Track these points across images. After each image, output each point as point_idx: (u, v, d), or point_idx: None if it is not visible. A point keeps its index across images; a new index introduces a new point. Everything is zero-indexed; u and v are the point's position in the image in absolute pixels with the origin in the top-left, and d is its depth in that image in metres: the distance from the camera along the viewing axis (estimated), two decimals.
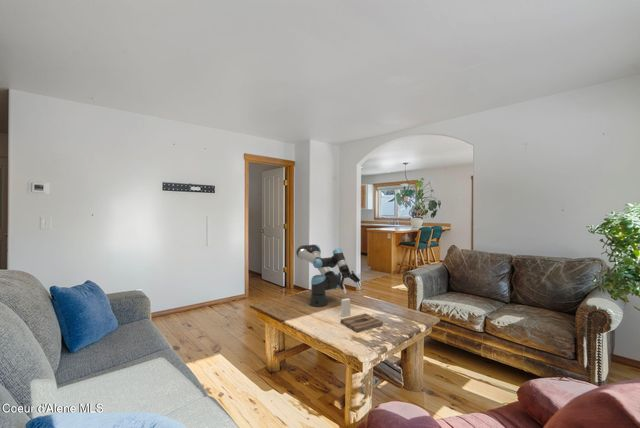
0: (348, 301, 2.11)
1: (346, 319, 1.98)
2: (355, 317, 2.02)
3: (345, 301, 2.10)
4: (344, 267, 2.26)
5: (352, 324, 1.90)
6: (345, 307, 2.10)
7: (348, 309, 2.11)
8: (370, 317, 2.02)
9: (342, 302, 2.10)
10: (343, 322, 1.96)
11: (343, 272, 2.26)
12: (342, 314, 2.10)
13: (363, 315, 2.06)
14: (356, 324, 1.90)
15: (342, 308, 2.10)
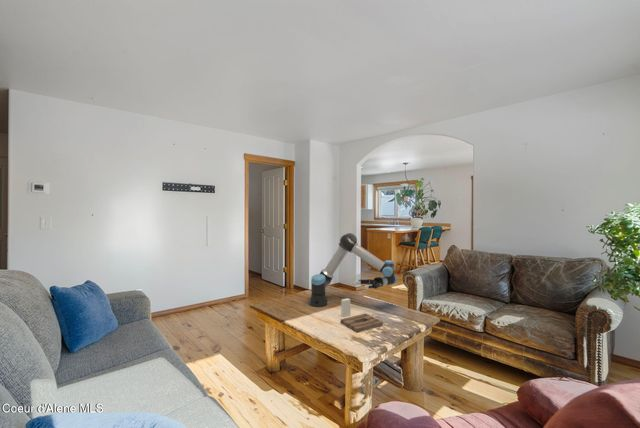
0: (348, 301, 2.11)
1: (346, 319, 1.98)
2: (355, 317, 2.02)
3: (345, 301, 2.10)
4: (379, 286, 2.26)
5: (352, 324, 1.90)
6: (345, 307, 2.10)
7: (348, 309, 2.11)
8: (370, 317, 2.02)
9: (342, 302, 2.10)
10: (343, 322, 1.96)
11: None
12: (342, 314, 2.10)
13: (363, 315, 2.06)
14: (356, 324, 1.90)
15: (342, 308, 2.10)
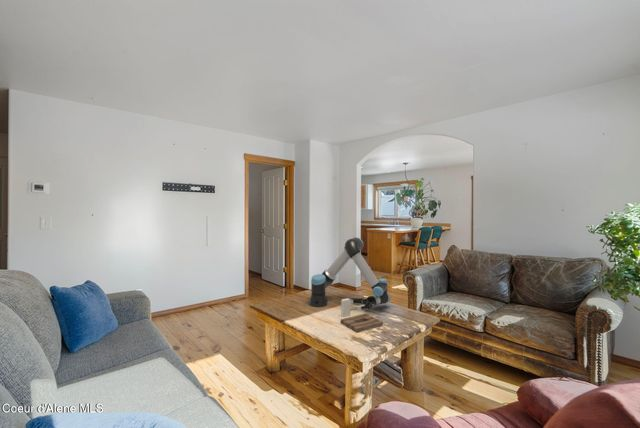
0: (348, 301, 2.11)
1: (346, 319, 1.98)
2: (355, 317, 2.02)
3: (345, 301, 2.10)
4: None
5: (352, 324, 1.90)
6: (345, 307, 2.10)
7: (348, 309, 2.11)
8: (370, 317, 2.02)
9: (342, 302, 2.10)
10: (343, 322, 1.96)
11: None
12: (342, 314, 2.10)
13: (363, 315, 2.06)
14: (356, 324, 1.90)
15: (342, 308, 2.10)
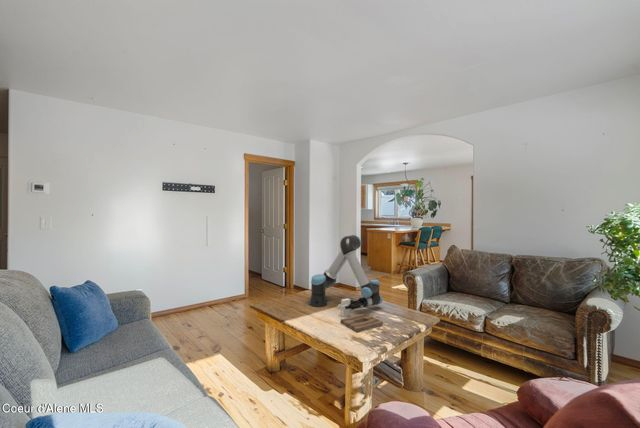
0: (348, 301, 2.11)
1: (346, 319, 1.98)
2: (355, 317, 2.02)
3: (345, 301, 2.10)
4: (363, 307, 2.19)
5: (352, 324, 1.90)
6: None
7: (348, 309, 2.11)
8: (370, 317, 2.02)
9: (342, 302, 2.10)
10: (343, 322, 1.96)
11: None
12: (342, 314, 2.10)
13: (363, 315, 2.06)
14: (356, 324, 1.90)
15: None
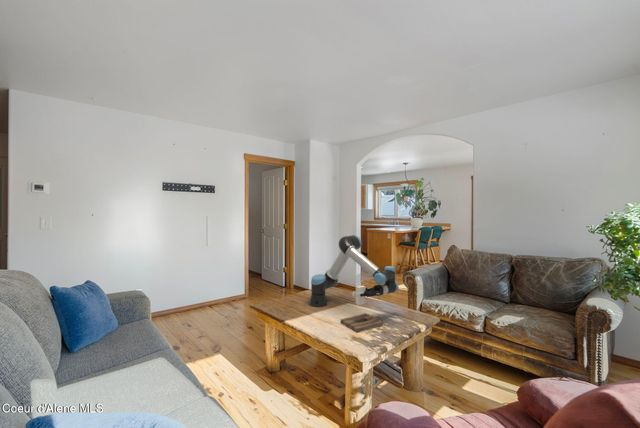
0: (363, 288, 1.97)
1: (346, 319, 1.98)
2: (355, 317, 2.02)
3: (360, 288, 1.95)
4: (379, 295, 2.04)
5: (352, 324, 1.90)
6: None
7: (363, 297, 1.97)
8: (370, 317, 2.02)
9: (357, 289, 1.96)
10: (343, 322, 1.96)
11: None
12: (357, 302, 1.96)
13: (363, 315, 2.06)
14: (356, 324, 1.90)
15: None
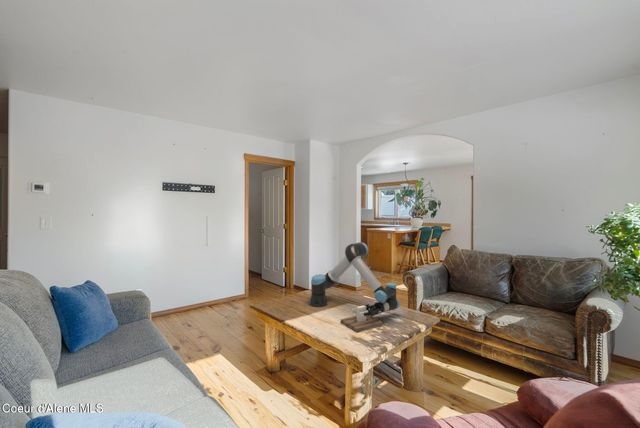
0: (364, 308, 1.96)
1: (346, 319, 1.98)
2: (355, 317, 2.02)
3: (361, 308, 1.94)
4: None
5: (352, 324, 1.90)
6: None
7: (364, 317, 1.96)
8: (370, 317, 2.02)
9: (357, 309, 1.95)
10: (343, 322, 1.96)
11: None
12: (357, 322, 1.95)
13: None
14: (356, 324, 1.90)
15: (357, 316, 1.95)
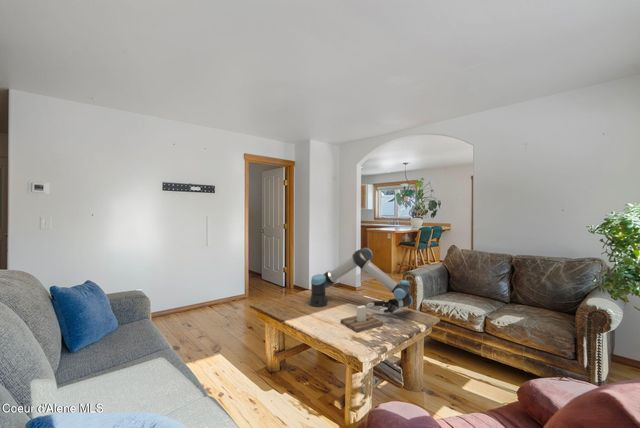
0: (364, 308, 1.96)
1: (346, 319, 1.98)
2: (355, 317, 2.02)
3: (361, 308, 1.94)
4: None
5: (352, 324, 1.90)
6: (360, 315, 1.94)
7: (364, 317, 1.96)
8: (370, 317, 2.02)
9: (357, 309, 1.95)
10: (343, 322, 1.96)
11: None
12: (357, 322, 1.95)
13: None
14: (356, 324, 1.90)
15: (357, 316, 1.95)
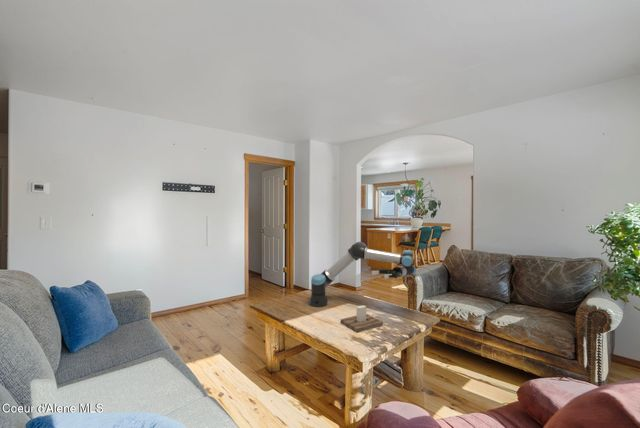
0: (364, 308, 1.96)
1: (346, 319, 1.98)
2: (355, 317, 2.02)
3: (361, 308, 1.94)
4: (398, 276, 2.20)
5: (352, 324, 1.90)
6: (360, 315, 1.94)
7: (364, 317, 1.96)
8: (370, 317, 2.02)
9: (357, 309, 1.95)
10: (343, 322, 1.96)
11: None
12: (357, 322, 1.95)
13: None
14: (356, 324, 1.90)
15: (357, 316, 1.95)
